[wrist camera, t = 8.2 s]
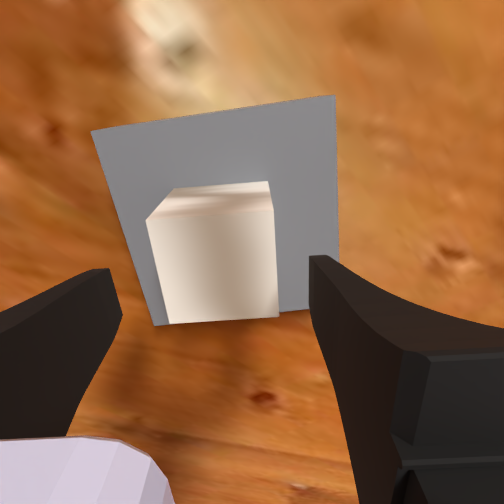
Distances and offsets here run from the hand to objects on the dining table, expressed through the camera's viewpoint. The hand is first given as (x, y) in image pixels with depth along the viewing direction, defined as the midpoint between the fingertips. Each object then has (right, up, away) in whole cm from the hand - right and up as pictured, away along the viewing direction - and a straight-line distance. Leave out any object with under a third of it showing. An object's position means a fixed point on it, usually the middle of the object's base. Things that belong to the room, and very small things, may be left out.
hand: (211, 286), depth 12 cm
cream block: (0, +3, +6) cm, 7 cm away
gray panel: (0, +4, +10) cm, 11 cm away
